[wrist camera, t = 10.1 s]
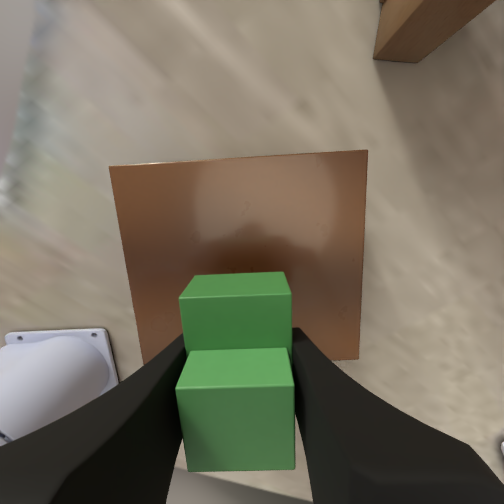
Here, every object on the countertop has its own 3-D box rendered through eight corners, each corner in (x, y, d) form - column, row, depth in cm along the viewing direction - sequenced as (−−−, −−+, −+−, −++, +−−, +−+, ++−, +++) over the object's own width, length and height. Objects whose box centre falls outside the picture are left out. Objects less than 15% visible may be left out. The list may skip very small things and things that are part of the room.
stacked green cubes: (285, 383, 13) (303, 499, 8) (211, 385, 13) (184, 501, 8) (282, 264, 11) (304, 320, 6) (198, 268, 12) (155, 325, 7)
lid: (354, 352, 17) (359, 359, 16) (149, 360, 17) (143, 368, 16) (362, 152, 14) (368, 149, 13) (116, 167, 14) (107, 165, 13)
